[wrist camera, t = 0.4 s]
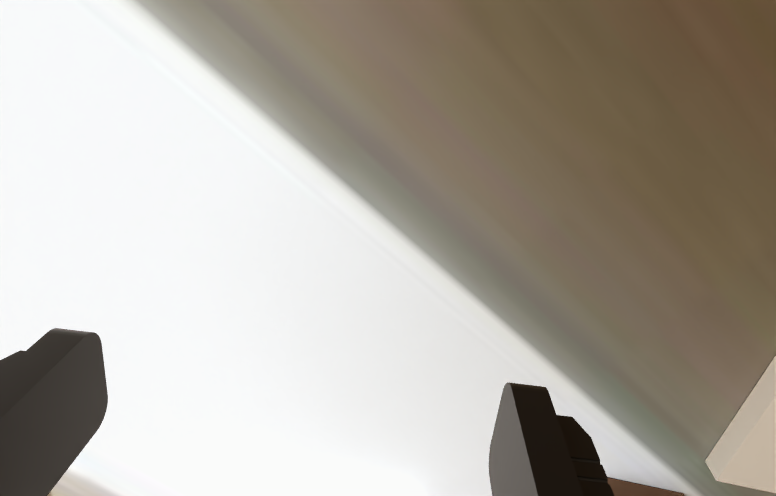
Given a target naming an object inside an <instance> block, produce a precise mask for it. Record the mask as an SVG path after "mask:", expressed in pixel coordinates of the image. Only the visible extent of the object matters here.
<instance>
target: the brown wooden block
mask: <svg viewBox="0 0 776 496" xmlns="http://www.w3.org/2000/svg"><path fill="white" fill-rule="evenodd" d="M608 484H610V486H611V488H612V491H613V493H614V496H684V494H683V493H679V492H674V491H669V490H664V489H660V488H655V487H650V486H645V485H641V484H636V483H631V482H626V481H622V480H617V479H612V478H608Z"/></svg>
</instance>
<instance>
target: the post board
mask: <svg viewBox="0 0 776 496" xmlns="http://www.w3.org/2000/svg"><path fill="white" fill-rule="evenodd" d="M705 462H706V464H707V466H708V467H709V469H710V471H711V472H712V474H713V476H714V478H715V479H716V481H720V482H725V483H729V484H734V485H739V486H744V487H748V488H753V489H758V490H762V491H767V492H772V493H776V356H775V357H774V359H773V360H772V362H771V363H770V365H769V366H768V368H767V369H766V371H765V372H764V374H763V375H762V377H761V378H760V380H759V381H758V383H757V384H756V386H755V387H754V389H753V390H752V392H751V393H750V395H749V396H748V398H747V399H746V401H745V402H744V404H743V405H742V407H741V408H740V410H739V411H738V413H737V414H736V416H735V417H734V419H733V420H732V421H731V423H730V424H729V426H728V427H727V429H726V430H725V432H724V433H723V435H722V436H721V438H720V439H719V441H718V442H717V444H716V445H715V447H714V448H713V450H712V451H711V453H710V454H709V456H708V457H707V459H706V460H705Z"/></svg>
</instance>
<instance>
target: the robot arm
mask: <svg viewBox="0 0 776 496" xmlns="http://www.w3.org/2000/svg"><path fill="white" fill-rule="evenodd" d="M107 402H108V395H107V386H106V378H105V370H104V361H103V353H102V344H101V340H100V337H99V336H98V335H97V334H96V333H92V332H84V331H75V330H67V329H58V328H55V329H52V330H50V331H49V332H47V333H46V334H45V335H44V336H43V337H42V338H41V339H39V340H38V341H37V342H36V343H35V344H34V345H32V346H31V347H30V348H29V349H28V350H27V351H19V352H16V353H14V354H12V355H10V356H8V357H6V358H4V359H2V360H0V496H47V495H48V494H49V493H50V491H51V490H52V489H53V487H54V486H55V485H56V483H57V482H58V481H59V480H60V478H61V477H62V476H63V474H64V473H65V472H66V470H67V469H68V468H69V466H70V465H71V464H72V463H73V461H74V460H75V459H76V457H77V456H78V455H79V453H80V452H81V451H82V449H83V448H84V447H85V446H86V444H87V443H88V442H89V440H90V439H91V438H92V436H93V435H94V434H95V433H96V431H97V430H98V428H99V427H100V425H101V423H102V421H103V418H104V416H105V412H106V408H107ZM489 476H490V483H491V489H492V496H614V493H613V491H612V488H611V486H610V484H608V478H607V476H606V474H605V471H604V469H603V466H602V465H600V459H599V456H598V454H597V451H596V449H595V446H594V444H593V441H592V439H591V437H590V436H589V435H588V434H587V433H586V432H585V431H584V429H583V428H582V427H581V426H580V425H579V424H578V423H577V422H576V421H575V420H574V418H573V417H568V416H560V415H556V413H555V410H554V407H553V404H552V401H551V398H550V395H549V392H548V390H547V388H546V387H541V386H532V385H524V384H515V383H506V385H505V386H504V389H503V393H502V397H501V401H500V406H499V410H498V414H497V419H496V423H495V427H494V432H493V436H492V440H491V445H490V453H489Z"/></svg>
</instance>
